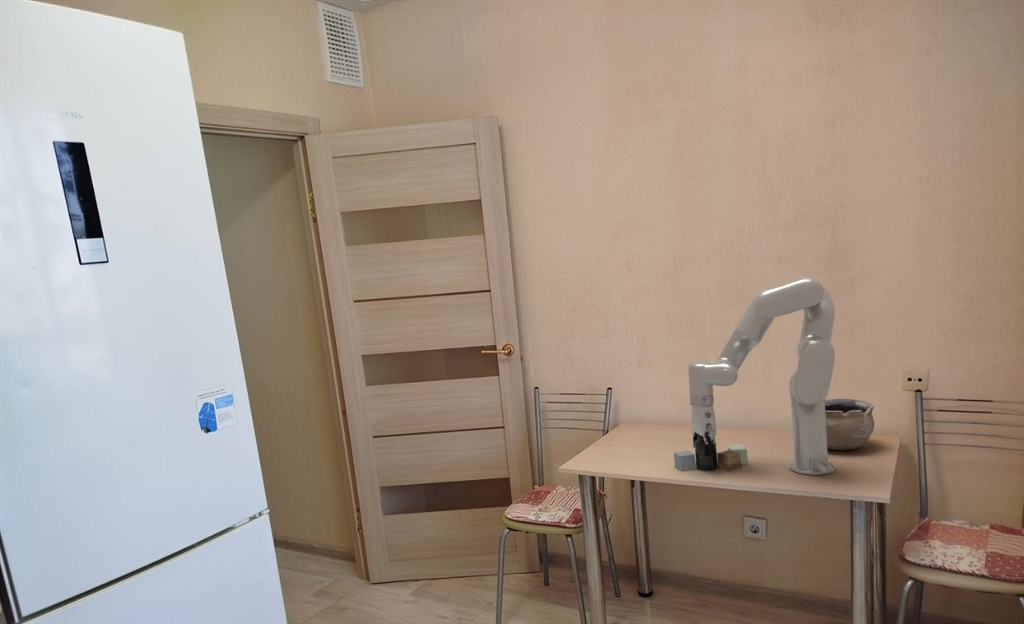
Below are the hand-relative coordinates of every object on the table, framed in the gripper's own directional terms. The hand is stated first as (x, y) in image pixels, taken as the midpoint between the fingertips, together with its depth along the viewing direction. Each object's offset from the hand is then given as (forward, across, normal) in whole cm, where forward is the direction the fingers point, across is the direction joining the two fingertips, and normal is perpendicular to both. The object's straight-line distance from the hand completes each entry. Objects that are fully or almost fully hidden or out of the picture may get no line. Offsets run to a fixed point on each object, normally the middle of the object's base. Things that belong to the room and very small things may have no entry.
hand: (703, 451), depth 210 cm
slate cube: (+6, +2, +6) cm, 8 cm away
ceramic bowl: (+5, +6, -50) cm, 50 cm away
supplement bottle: (+6, 0, -1) cm, 6 cm away
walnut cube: (+5, -3, -7) cm, 9 cm away
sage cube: (+5, +2, -12) cm, 13 cm away
